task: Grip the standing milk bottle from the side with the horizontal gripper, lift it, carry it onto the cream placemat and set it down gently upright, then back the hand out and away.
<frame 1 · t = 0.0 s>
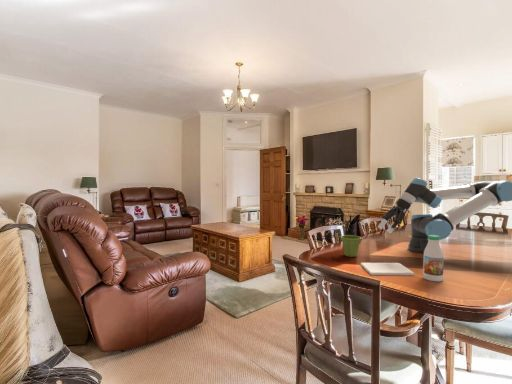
hand: (383, 230, 168), 15 cm above the table, tool tilted 35°, fingers open, 13 cm apart
plant pot: (350, 255, 170), on the table
placemat: (385, 269, 143), on the table
milk bottle: (433, 279, 129), on the table
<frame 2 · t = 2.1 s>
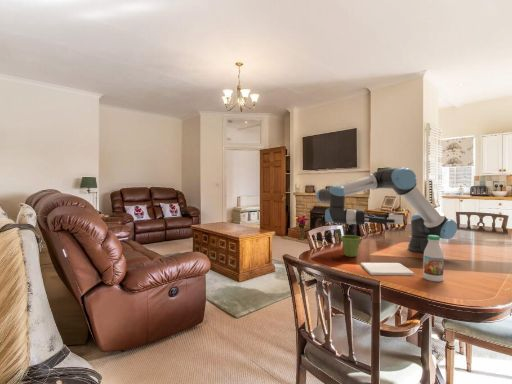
hand: (403, 219, 134), 26 cm above the table, tool horizontal, fingers open, 13 cm apart
nothing on the table moved.
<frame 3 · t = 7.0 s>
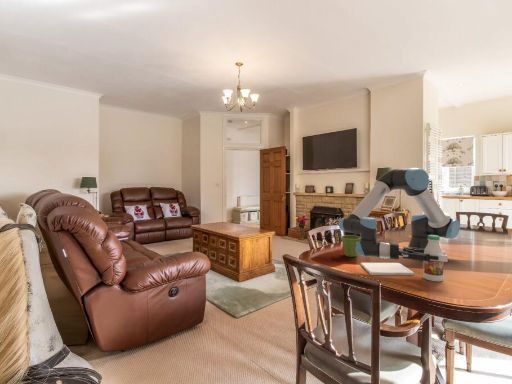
hand: (446, 256, 126), 11 cm above the table, tool horizontal, fingers closed on milk bottle, 7 cm apart
milk bottle: (433, 279, 129), on the table, touching gripper
everything else where it was.
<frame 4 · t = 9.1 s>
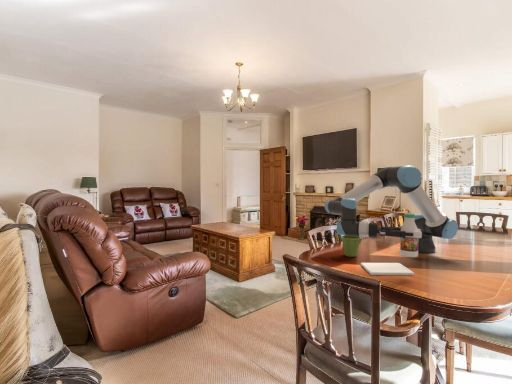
hand: (420, 233, 132), 20 cm above the table, tool horizontal, fingers closed on milk bottle, 7 cm apart
milk bottle: (408, 255, 134), point 9 cm above the table, touching gripper
everything else where it was.
when the fingers open (13 cm above the table, at t = 11.7 s): milk bottle drops 1 cm, resting on placemat.
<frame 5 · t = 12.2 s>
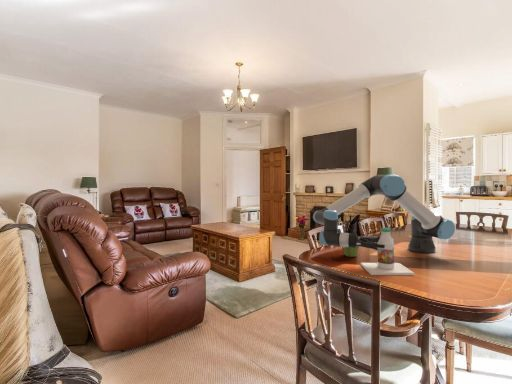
hand: (393, 243, 140), 13 cm above the table, tool horizontal, fingers open, 13 cm apart
milk bottle: (385, 267, 143), point 1 cm above the table, touching placemat
everything else where it was.
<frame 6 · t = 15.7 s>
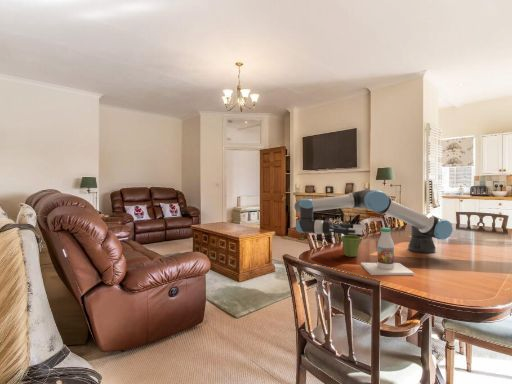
hand: (364, 229, 146), 20 cm above the table, tool horizontal, fingers open, 13 cm apart
nothing on the table moved.
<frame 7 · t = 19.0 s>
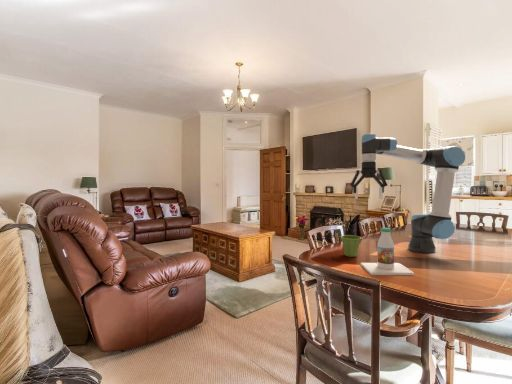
hand: (368, 198, 161), 35 cm above the table, tool pointing down, fingers open, 13 cm apart
nothing on the table moved.
at the end: milk bottle inside the target area on the placemat (0.1 cm from its centre), point 1.0 cm above the placemat's base; milk bottle tilted 0°; the gripper is holding nothing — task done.
